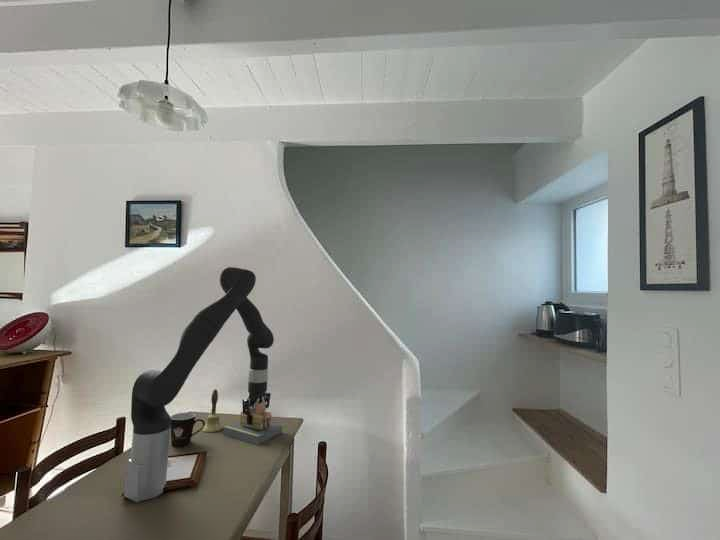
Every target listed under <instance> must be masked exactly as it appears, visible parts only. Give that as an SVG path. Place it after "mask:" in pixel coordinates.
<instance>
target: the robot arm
mask: <svg viewBox="0 0 720 540" xmlns="http://www.w3.org/2000/svg"><path fill="white" fill-rule="evenodd" d="M256 278H257V277H256V274H255V273H254V272H253V270H249V269H244V268H239V267H231V266H228V267H226V268H225V269H223V270H222V271H221V273H220V276H219V283H220V287H221V289H222V291H223V292H224V293H225V294H224V296H222V297H221V298H219V299H218V300H216V301H214V302H212V303H211V304H209V305H207V306H206V307H204V308H201V310H199V311H198V312H197V313H196V314H195V315H194V316H193V317H192V318H191V320H190V321H189V322H188V323H187V325H186V326H185V328H184V329H183V331H182V333H181V336H180V340H179V344H178V348H177V350H176V352H175V355H174V356H173V357H172V359H171V360H170V362H169V363H168V364H167V365H166V366H165V368H163V370H162V371H161V370H157V369H155V370H153V369H151V370H146V371H144V372H142V373H141V374H140V375H138V377H137V378H136V379H135V381H134V384H133V387H132V392H131V405H130V406H131V410H130V419H131V423H132V426H133V427H132V440H131V451H130V459H128V460H127V461H126V469H125V470H126V471H125V481H124V490H123V491H124V492H123V496H124V497H125V498H127V499H128V500H131V501H132V502H134V503H139V502H142V501H147V500H151V499H154V498H157V497H158V496H160V495H162V494H163V493H164V492H163V488H164V486H165V484H166V485H167V476H168V475H167V474H168V462H169V461H168V460H169V448H170V438H171V427H170V425H171V415H170V414H169V413H168V412H167V410H166V408H165V406H167V405H169V404H170V403H171V402H172V401H174V400H175V398H176V397H177V396H178V395H179V393H180V391H181V389H182V388H183V386H184V384H185V382H186V381H187V379H188V378H189V376H190V374H191V372H192V371H193V369H194V367H195V366H196V364H197V363H198V361H199V360H200V359H201V357H202V356H203V354H204V353H205V351H206V350H207V349H208V347H209V346H210V345H211V344H212V342H213V341H214V340H215V338H216V336H217V335H218V334H219V333H220V331H221V330H222V329H223V327H224V325H225V324H226V323H227V321H228V320H229V319H230V317H231V316H232V315H233V313H235V311H237V312H238V314H239V316H240V318H241V320H242V322H243V324H244V326H245V329H246V331H247V332H248V335H247V339H246V342H247V347H248V353H249V357H250V362H249V363H250V364H249V372H248V385H247V387H248V388H247V392H248V397H247V398H243V399H242V401H241V402H242V411H243V414H246V415H247V424H248V425H252V419H253V412H254V410H255V409H256V404H258V403H260V402H264V408H263V411H265V412H266V410H267V409H269V407H270V401H271V396H272V393H271V392H267V391H268V379H269V372H268V371H269V370H268V368H269V367H268V366H269V356H268V355H267V354H266V353H263V352H261V351H260V349H269V348H271V347H272V346H273V344H274V342H275V338H274V334H273V332H272V331H271V329H270V328H269V327H268V325H266V323H265V322H264V321H263V318H262V317H263V316H262V314H261V312H260V311H259V309H258V308H257V306H256V305H255V304H254V303H253V302H252V301H251V300H250V299H249V298H248V297H249V295H250V294H251V292H252V291H253V289H254V287H255V285H256V281H257V279H256ZM251 405H252V406H253V407H251ZM250 409H251V412H250Z"/></svg>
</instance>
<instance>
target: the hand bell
mask: <svg viewBox="0 0 720 540" xmlns="http://www.w3.org/2000/svg"><path fill="white" fill-rule="evenodd" d="M210 398H211V399H210V400H211V411H210V414H209V415H208V416H207V418H206V421H205V426H204V427H203V426H202V427H203V429H202V430H201V432H204V433H215V432H216V431H217V432H219V430H220V431H222V430H223V429H224V426H223V425H222V424H221V422H220V416H219V414H218V413H217V412H216V411H217V403H218V401H219V394H218V389H213V391H212V394H211V397H210ZM222 428H223V429H222ZM221 429H222V430H221Z"/></svg>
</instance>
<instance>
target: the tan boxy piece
mask: <svg viewBox="0 0 720 540" xmlns="http://www.w3.org/2000/svg"><path fill="white" fill-rule="evenodd" d="M239 418H240V419H239V421H240V425H243V426H247V427H250V428H254V429H258V430H262V429H263V428H266V427H267V426H268V427H269V426H271V423H272V412H269V411H266V410H265V411H263V412H262V413H259V414H257V415H255V414H253V419H252V425H248V424H247V415H246V414H243V410H242V411H240V417H239Z"/></svg>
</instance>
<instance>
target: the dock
mask: <svg viewBox="0 0 720 540" xmlns="http://www.w3.org/2000/svg"><path fill="white" fill-rule="evenodd" d="M279 433H281V434H282V433H283V425H281V424H277V423H273V422H271V426H269V427H268V426H267V427H266V428H263V429H262V430H258V429H254V428H250V427H247V426H243V425H240V420H239V421H236V422H234V423H231V424H229V425H225V426H223V436H225V437H230V438H233V439H236V440H239V441H244V442H246V443H250V444H253V445H256V446H258V445H260V444H262V443H264V442H266V441H268V440H270V438H271V439H273V438H274V436H275V437H277V436H279V435H280V434H279ZM278 434H279V435H278ZM276 435H277V436H276ZM272 437H273V438H272Z"/></svg>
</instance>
